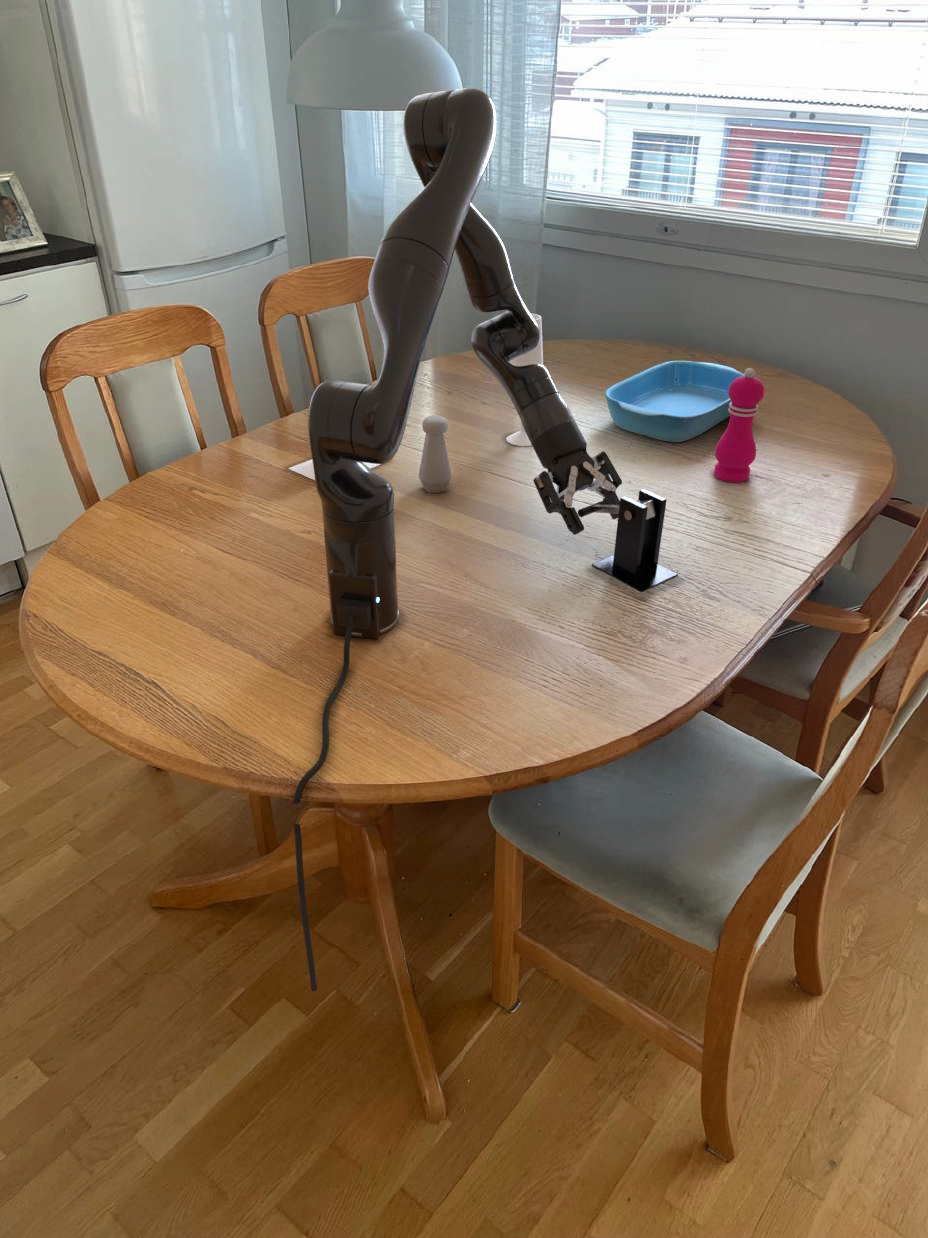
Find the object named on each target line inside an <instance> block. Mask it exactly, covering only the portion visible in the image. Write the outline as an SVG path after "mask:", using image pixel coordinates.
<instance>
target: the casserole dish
mask: <svg viewBox="0 0 928 1238" xmlns="http://www.w3.org/2000/svg"><path fill="white" fill-rule="evenodd" d="M742 376H745V375H744V372H743V373H742V372H741V371H739V370H736V369H735V368H733V367H730V366H726V365H724V364H723V365H722V364H718V363H712V362H704V361H703V362H702V361H701V362H699V361H690V360H672V361H666V362H663V363H660V364H656V365H654V366H652V367H650V368H647V369H646V370H644V371H641V372H639V373H637V374H635V375H632V376H630V377H627V378H626V379H624V380H621V381H619V382H617V383H616V384H614V385H613V384H612V386H610V387H609V388H607V389H606V391H605V393H604V395H605V398H606V403H607V407H608V411H609V414H610V417H611V420H612V421H613V422H614V424H615V425H617V426H618V428H620V429H623V430H625V431H628V432H631V433H634V434H637V435H641V436H645V437H648V438H651V439H654V440H655V439H656V440H658V441H663V442H668V443H681V442H686V441H689V440H692V439H693V438H695V437H698V436H700V435H702V434H703V433H705V432H707V431H708V430H710V429H712V428H713V427H715V426H717V425H718V424H720V423H722V422H723V421H724V420H726V419H728V418H730V412H729V411H728V409H729V407H730V406H729V403H730V402H732V401H731V399H730V398H729V395H728V391H729V387H730V385H731V383H732V382H733V381H734V380H735V379H736V378H738V377H742Z"/></svg>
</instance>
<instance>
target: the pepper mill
mask: <svg viewBox="0 0 928 1238" xmlns="http://www.w3.org/2000/svg"><path fill="white" fill-rule="evenodd" d="M743 374H744V375H745V376H742V377H738V378H736V379H735V380H734V381H733V382H732V383H731V385H730V387H729V391H728V395H729V398H730V399H731V401H732V402H730V403H729V406H730V407H729V409H728V411H729V412H730V416H729V421H728V425H727V427H726V430H725V431H724V433H723V434H722V436H721V437H720V438H719V440H718V442H717V443H716V445H715V449H714V457H715V459H716V461H717V462H716V463H715V465H714V470H713V474H714V476H715V478H717V479H719V480H720V481H723V482H729V483H741V482H745V481H747V480H748V479H749V478H750V474H751V467H750V465H751V464H752V463H753V462H754V461H755V460H756V458H757V457H756V456H757V447H756V441H755V438H754V433H753V423H754V422H753V421H754V417H755V416H756V415H758V410H759V405H758V404H759V403H760V402H761V401H762V400H763V399H764V396H765V386H764V383H763V382H762V380H760V379H759V378H757V377H755V375H756V371H755V370H754V368H751V367H748V368H746V369H745V370H744V372H743Z"/></svg>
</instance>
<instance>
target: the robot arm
mask: <svg viewBox="0 0 928 1238" xmlns="http://www.w3.org/2000/svg"><path fill="white" fill-rule="evenodd" d="M402 125H403V136H404V141H405V146H406V149H407V152H408V155H409V158H410V160H411V162H412V164H413V167H414V169H415V171H416V173H417V176H418V177H419V179H420V182H421V184H422V187H423V189H422V190H421V191H420V192H419V193H418V194H417V195H416V196H415V197H414V199H412V200H411V201H410V202H409V203H408V204H407V205H406V206H405V208H403V210H401V211H400V213H399V214H398V215H397V216H396V217H395V218H394V220H393V221H392V222H391V223H390V224H389V225H388V227H387V228H386V230H385V232H384V233H383V235H382V238H381V240H380V242H379V245H378V249H377V252H376V254H375V258H374V261H373V264H372V267H371V270H370V274H369V277H368V282H367V289H368V296H369V301H370V305H371V309H372V313H373V316H374V318H375V321H376V324H377V327H378V329H379V330H378V331H379V334H380V337H381V341H382V347H383V360H382V366H381V370H380V374H379V378H378V380H377V382H376V384H374V385H373V384H367V383H360V382H354V381H353V382H352V381H345V380H338V379H337V380H336V379H328V380H324V381H322V382H321V383H320V384H319V385H318V386H317V387H316V388H315V390H314V392H313V393H312V396H311V399H310V401H309V407H308V414H307V427H308V439H309V447H310V454H311V460H313V467H314V474H315V480H314V482H315V483H314V484H315V489H316V491H317V494H318V497H319V498H320V502H321V511H322V513H321V514H322V522H323V523H322V525H323V538H324V548H325V550H324V551H325V560H326V572H327V585H328V586H327V587H328V595H329V596H328V598H329V607H330V615H329V616H330V617H329V618H330V624H331V626H332V629H333V634H334V635H338V636H345V637H344V642H343V664H342V669H341V673H340V676H339V678H338V681H337V683H336V685H335V687H334V688H333V690H332V691H331V693H330V695H329V696H328V698H327V700H326V702H325V704H324V708H323V712H322V719H321V728H322V730H321V731H322V744H321V750H320V754H319V758H318V760H317V761H316V763H314V765H313V766H312V767H311V768H310V769H309V770H307V772H306V773H305V774H304V775H303V777H302V778H301V779H300V781H299V783H298V785H297V787H296V791H295V793H294V797H293V804H294V805H298V804H300V803H301V799H302V796H303V792H304V790H305V787H306V785H307V783H308V782H309V781H310V780H311V779H312V777H313V776H315V775H316V774H317V773H318V772H319V771H320V769H322V767H323V765H324V763H325V761H326V759H327V756H328V752H329V746H330V730H329V729H330V728H329V719H330V712H331V708H332V705H333V702H334V701H335V699H336V698H337V696H338V694H339V693H340V691H341V689H342V687H343V686H344V683H345V681H346V679H347V676H348V672H349V668H350V648H351V647H350V646H351V641H352V637H354V638H364V639H371V640H378V639H379V637H380V636H381V635H383V634H385V633H387V632H389V631H391V630H392V629H393V628H395V627H396V626H397V624H398V622H399V620H400V612H399V602H398V578H397V552H396V521H395V519H396V518H395V493H394V488H393V486H392V483H390V481H389V480H388V479H387V478H385V477H384V476H382V475H381V474H380V473H377V472H376V471H374V470H373V469H372V468H371V469H370V468H369V467H367V466H366V465H365V464H364V463H363V462H365V463H372V464H381V465H385V464H387V463H389V462H391V461H392V459H394V457H395V456H396V454H397V452H398V451H399V448H400V446H401V443H402V440H403V438H404V436H405V435H404V434H405V431H406V427H407V423H408V418H409V415H410V410H411V405H412V400H413V395H414V392H415V387H416V382H417V378H418V374H419V369H420V364H421V361H422V357H423V353H424V349H425V346H426V343H427V339H428V336H429V334H430V330H431V326H432V324H433V321H434V317H435V314H436V312H437V309H438V307H439V304H440V301H441V298H442V296H443V291H444V289H445V285H446V282H447V279H448V275H449V272H450V268H451V265H452V261H453V257H454V254H455V256H456V259H457V261H458V264H459V269H460V271H461V274H462V278H463V280H464V284H465V288H466V291H467V293H468V297H469V300H470V303H471V305H472V307H473V308H474V309H475V310H477V311H478V312H481V313H494V312H495V313H496V312H498V311H499V312H500V311H504V312H502V313H500V314H498V315H496V316H494V317H492V318H490V319H488V320H486V321H483V322H481V323H479V324H478V325H476V326H475V327H474V328H473V329H472V332H471V335H470V345H471V349H472V351H473V353H474V355H475V356H476V358H477V359H478V361H479V362H480V363H481V364H482V365H483V366H484V367H485V368H486V369H487V370H488V371H489V372H490V373H491V375H492V376H494V378H495V379H496V380H497V381H498V382H499V384H500V385H501V386H502V387H503V389H504V391H505V392H506V393H507V395H508V397H509V399H510V400H511V403H512V404H513V407H514V408H515V411H516V412H517V414H518V417H519V419H520V423H521V422H522V425H523V428H524V430H525V432H526V434H527V436H528V438H529V440H530V442H531V444H532V445H531V446H532V448H533V450H534V452H535V454H536V457H537V458H538V460H539V462H540V465H541V467H542V468H543V469H545V470H542V471H541V472H540V473H539V474H538V475H536V476H535V477H534V478H533V480H532V481H533V483H534V486H535V488H536V491H537V493H538V495H539V498H540V499H541V502H542V504H543V506H544V508H545V511H546V513H547V514H550V515H551V514H553V513H557V514H559V515H560V516H561V517H562V519H563V522H564V523H565V525H566V527H567V529H568V531H569V532H570V533H572V535H573V536H575V535H578V534H581V533H582V532H584V530H585V526H584V524H583V522H582V520H581V517H580V516H579V515H578V511H577V509H576V508H575V507H573V499H574V495H575V493H577V492H578V491H579V492H580V491H584V490H588V491H590V492H595V493H596V494H597V495H599V496H601V497H602V501H603V500H606V501H607V502H608V505H620V498H619V497H618V495H617V492H616V491H617V489H618V488H619V487H620V486H621V485H622V484H623V480H622V478H621V476H620V475H619V473H618V471H617V470H616V468H615V465H614V464H613V461H612V460H611V459H610V457H609V455H608V453H607V452H606V451H604V450H603V451H600V452H599V453H598V454H596V455H594V456H591V455H590V454H589V453H588V451H587V448H588V447H587V445H588V444H587V442H586V440H585V437H584V435H583V433H582V431H581V430H580V428H579V426H578V424H577V422H576V420H575V417H574V416H573V414H572V411H571V410H570V408H569V406H568V405H567V403H566V402H565V400H564V399H563V397H562V395H561V394H560V391H559V389H558V388H557V386H556V384H555V382H554V380H553V378H552V376H551V374H550V372H549V370H548V368H547V367H546V366H545V365H544V364H543V365H542V364H531V365H526V366H514V365H512V364H511V363H510V361H512V360H514V359H516V358H518V357H520V356H522V355H524V354H527V353H529V352H531V351H532V350H534V349H535V348H536V347H537V345H538V342H539V339H540V330H539V327H538V324H537V322H536V321H535V319H534V317H533V316H532V314H533V313H531V311H530V310H529V308H528V307H527V305H526V303H525V302H524V300H523V298H522V296H521V294H520V292H519V290H518V287H517V285H516V282H515V279H514V275H513V271H512V267H511V264H510V259H509V256H508V252H507V250H506V246H505V244H504V243H503V240H502V239H501V236H500V235H499V234H498V233H497V231H496V229H495V228H494V227H493V226H492V224H490V222H489V221H488V220H487V219H486V217H484V216H483V214H482V213H481V212H480V211H479V210H478V209H477V207H475V206H474V204H473V199H474V197H475V195H476V192H477V191H478V188H479V186H480V184H481V181H482V179H483V176H484V174H485V171H486V169H487V168H488V164H489V163H490V160H491V157H492V153H493V150H494V146H495V142H496V136H497V114H496V108H495V105H494V103H493V100H492V99H491V97H490V96H489V94H488V93H486V92H485V91H483V90H481V89H478V88H469V87H466V88H457V89H451V90H450V89H449V90H442V91H434V92H429V93H422V94H418V95H416V96H414V97H413V98H412V99H411V100H409V102H408V104H407V105H406V109H405V110H404V116H403V124H402ZM546 470H547V471H546ZM555 485H556V487H555ZM618 514H619V513H609V515H610V517H611V519H612V520H616V519H617V520H618ZM292 826H293V833H294V846H295V863H296V877H297V890H298V898H299V899H298V900H299V908H300V909H299V910H300V917H301V924H302V931H303V938H304V945H305V952H306V959H307V966H308V975H309V982H310V990H311V992H317V990H318V984H317V976H316V967H315V959H314V952H313V944H312V939H311V929H310V922H309V915H308V907H307V906H308V905H307V898H306V897H307V895H306V887H305V874H304V873H305V872H304V859H303V857H304V856H303V839H302V829H301V824H300V823H294V822H293V824H292Z"/></svg>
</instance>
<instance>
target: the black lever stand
mask: <svg viewBox="0 0 928 1238" xmlns="http://www.w3.org/2000/svg"><path fill="white" fill-rule="evenodd" d="M638 491H639V492H638V498H637V500H653V502H654V509H655V516H654V517H652V518H649V519H647V520H646V517H647V509H648V507H647V506H645V505H643V504H641V503H639V502H636V501H637V500H634V499H632V498H630V497H627V496H622V497H620V498H619V500H620V505H619V514H618V518H617V525H616V533H615V540H614V541H615V542H614V550H613V551H614V553H613V554H612V555H611V556H607V557H605V558H604V559H600V560H599V561H597V562H594V563H592V564H591V566H592V567H593V568H596V569H597V570H599V571H600V572H603V573H604V574H606V575H608V576H610V577H612V578H614V579H616V580H618V581H619V582H621V583H622V584H625V585H626V586H628V587H630V588H632V589H633V590H636V591H638V592H639V593H644V592H646V591H648V590H650V589H652V588H655V587H656V586H659V585H660V584H663V583H666V582H667V581H669V580H671V579H674V578H675V577H678V576H679V574H678V573H677V572H674V571H673V570H671V569H669V568H667V567H665V566H663V565H662V564H659V557H660V549H661V544H662V537H663V536H662V534H663V528H664V521H665V515H666V508H667V498H665V497H663V496H660V495H658V494H656V493H655V492H652V491H649V490H647V489H645V488H643V489H640V490H638Z"/></svg>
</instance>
